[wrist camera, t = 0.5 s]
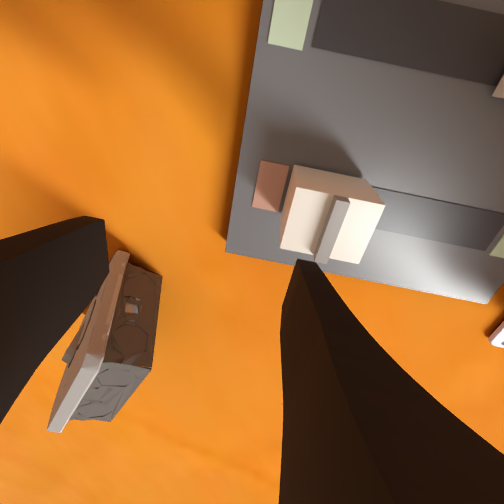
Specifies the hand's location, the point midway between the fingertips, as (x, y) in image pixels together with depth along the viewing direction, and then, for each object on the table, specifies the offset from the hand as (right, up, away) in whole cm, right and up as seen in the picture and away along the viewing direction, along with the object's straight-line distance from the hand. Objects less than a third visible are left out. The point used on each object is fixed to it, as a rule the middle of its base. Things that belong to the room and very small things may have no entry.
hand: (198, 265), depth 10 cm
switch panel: (+10, +6, +7) cm, 14 cm away
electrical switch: (-8, -3, +15) cm, 17 cm away
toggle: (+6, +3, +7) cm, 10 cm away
